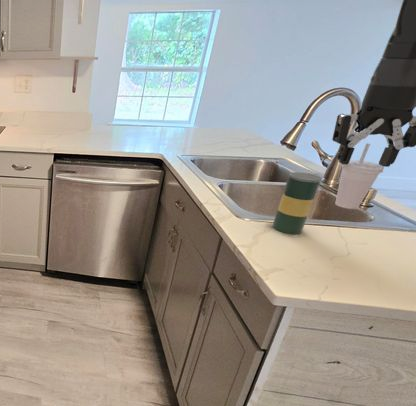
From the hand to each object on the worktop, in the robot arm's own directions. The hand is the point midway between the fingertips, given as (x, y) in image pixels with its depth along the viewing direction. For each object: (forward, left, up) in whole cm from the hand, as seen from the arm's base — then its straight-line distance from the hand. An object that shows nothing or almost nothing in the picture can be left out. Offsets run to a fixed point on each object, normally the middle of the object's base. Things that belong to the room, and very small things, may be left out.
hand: (363, 164), depth 78 cm
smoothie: (0, 0, -10) cm, 10 cm away
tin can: (+14, -14, -26) cm, 33 cm away
